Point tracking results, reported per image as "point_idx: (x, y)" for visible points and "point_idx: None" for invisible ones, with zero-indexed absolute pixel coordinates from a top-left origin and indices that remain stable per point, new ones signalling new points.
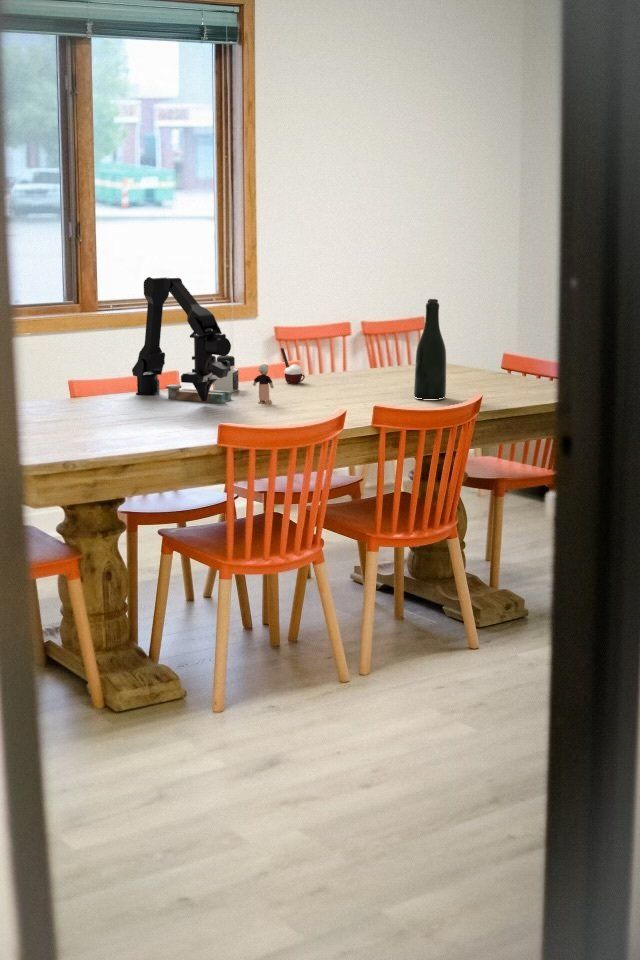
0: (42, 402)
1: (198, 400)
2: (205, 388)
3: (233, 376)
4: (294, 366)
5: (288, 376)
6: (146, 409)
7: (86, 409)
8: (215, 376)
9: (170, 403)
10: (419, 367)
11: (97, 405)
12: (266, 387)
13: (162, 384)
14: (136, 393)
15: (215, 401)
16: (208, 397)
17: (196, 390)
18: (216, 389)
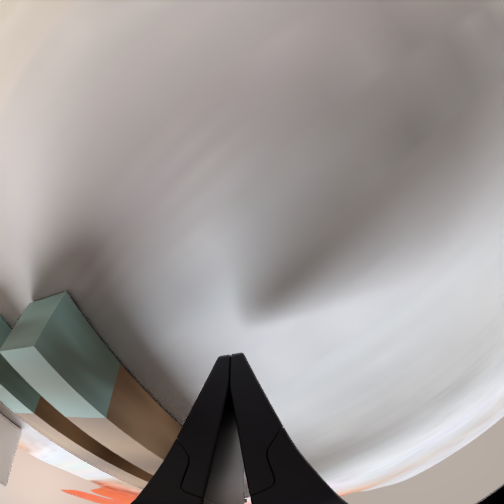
0: (410, 475)
1: (167, 417)
2: (289, 469)
3: None
4: None
5: None
6: (459, 388)
7: (467, 427)
8: (2, 468)
9: (306, 438)
10: None
11: (420, 453)
12: None
13: (112, 495)
14: (246, 500)
15: (94, 342)
16: (122, 401)
17: (126, 472)
18: (11, 429)
